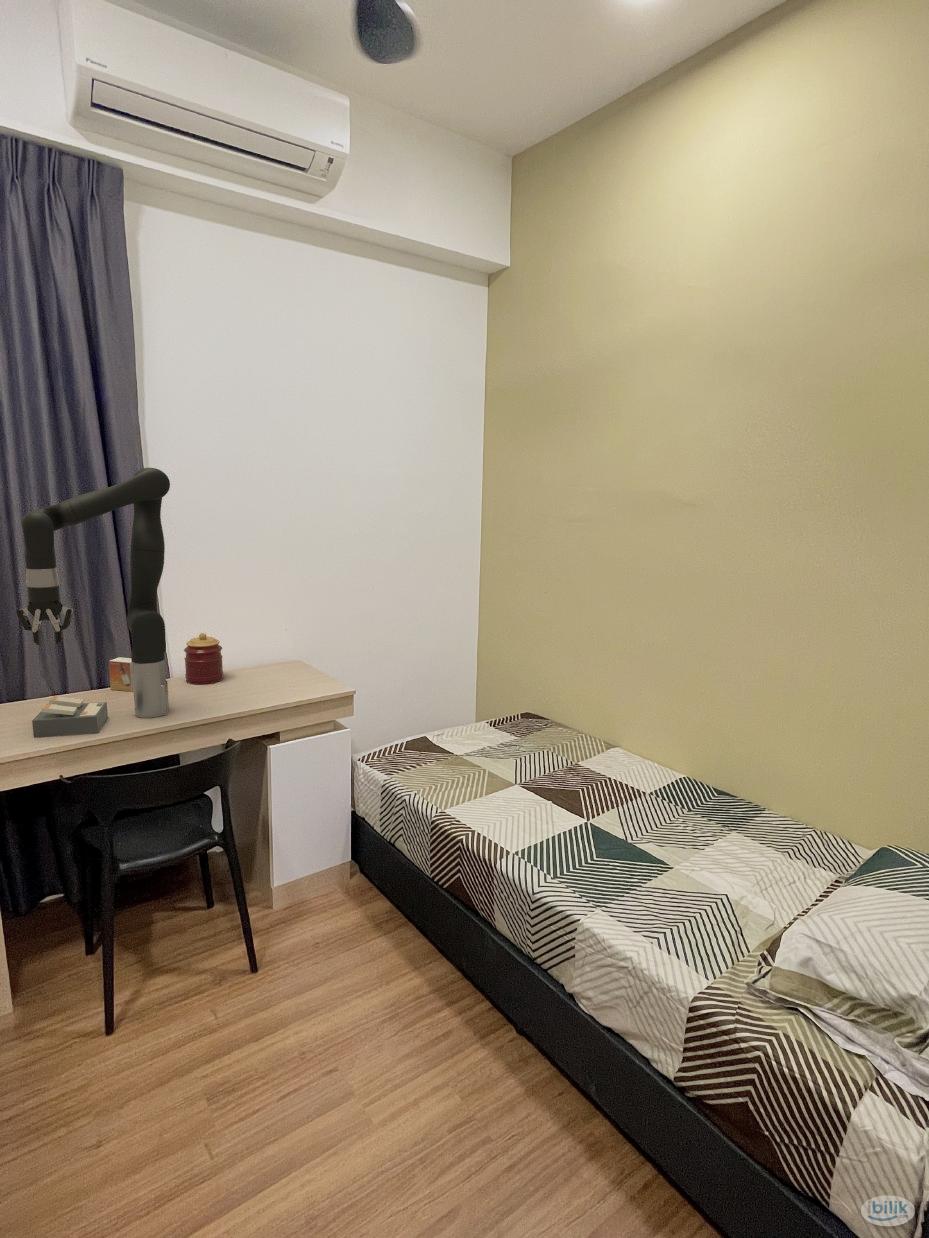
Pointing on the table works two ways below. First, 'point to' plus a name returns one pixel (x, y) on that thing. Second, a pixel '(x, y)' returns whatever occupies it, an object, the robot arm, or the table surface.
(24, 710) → the table surface
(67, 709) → the rocker
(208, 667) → the canister
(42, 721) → the box
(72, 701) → the rocker
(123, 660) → the small box
